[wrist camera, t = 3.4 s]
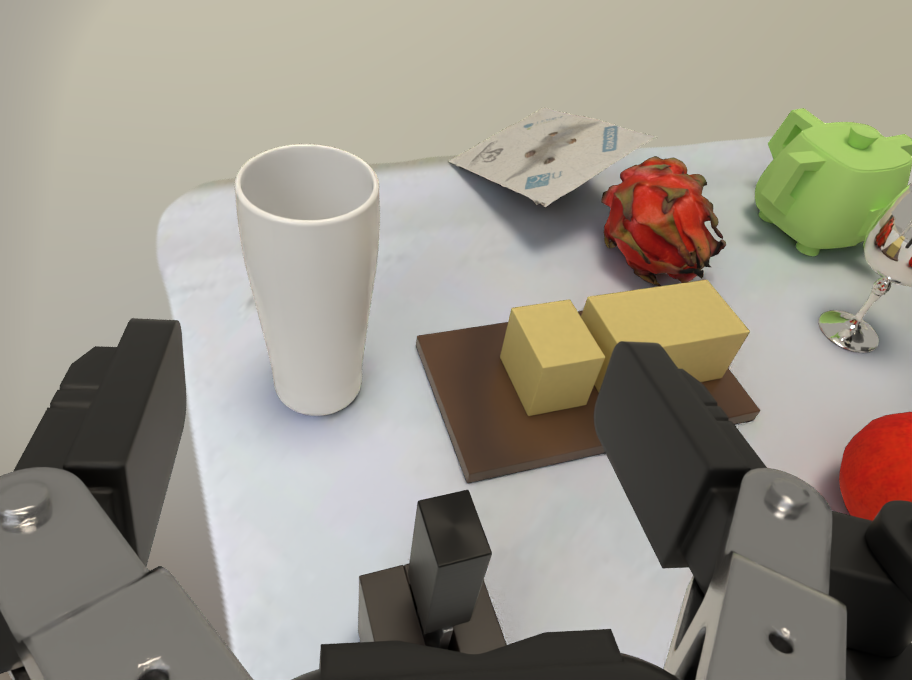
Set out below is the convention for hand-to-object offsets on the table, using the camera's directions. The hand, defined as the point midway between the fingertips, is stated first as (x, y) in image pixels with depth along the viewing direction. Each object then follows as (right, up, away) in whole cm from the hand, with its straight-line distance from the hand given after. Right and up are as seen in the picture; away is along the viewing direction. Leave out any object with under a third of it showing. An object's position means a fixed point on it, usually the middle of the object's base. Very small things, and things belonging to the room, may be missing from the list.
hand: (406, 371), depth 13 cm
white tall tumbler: (-8, -2, +30) cm, 31 cm away
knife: (-1, -15, +19) cm, 24 cm away
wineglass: (+31, +1, +39) cm, 50 cm away
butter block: (+14, -1, +33) cm, 36 cm away
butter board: (+9, -2, +32) cm, 34 cm away
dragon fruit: (+16, +7, +42) cm, 46 cm away
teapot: (+33, +10, +48) cm, 59 cm away
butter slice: (+6, -2, +31) cm, 31 cm away
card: (+11, +13, +47) cm, 50 cm away
